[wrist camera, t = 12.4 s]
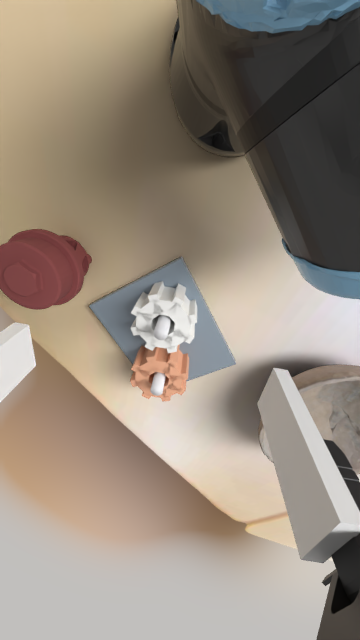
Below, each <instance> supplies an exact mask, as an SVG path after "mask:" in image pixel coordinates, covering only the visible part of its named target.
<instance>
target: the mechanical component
mask: <svg viewBox="0 0 360 640" xmlns="http://www.w3.org/2000/svg"><path fill="white" fill-rule="evenodd" d="M91 262H92V258H91V256H90V255H88V254H87V253H86V251H85V250H84V248H83V247H82V246H81V245H80V244H79V243H78V242H77V241H76V240H74V239H72V238H70V237H67V236H58V235H57V234H55V233H53V232H50V231H47V230H42V229H32V230H26V231H22V232H19V233H17V234H15V235H14V236H13V237H12V238H11V239H10V240H9V241H8V243H5V244H3V245H1V246H0V289H1V290H2V291H3V292H4V294H5V295H6V296H8V297H9V298H10V299H11V300H13V301H14V302H15V303H17V304H19V305H21V306H24V307H26V308H30V309H45V308H48V307H50V306H52V305H60V304H64V303H66V302H68V301H69V300H71V299H72V298H73V297H75V296H76V295H77V294H78V293H79V291H80V290H81V288H82V285H83V280H84V276H85V275H86V273H87V271H88V268H89V264H90V263H91Z"/></svg>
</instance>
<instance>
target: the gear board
mask: <svg viewBox="0 0 360 640" xmlns="http://www.w3.org/2000/svg"><path fill="white" fill-rule="evenodd" d="M161 281H163V283H164V286H165V287H172V288H176V287H177V285H178V283H179V284H180V285H182V286H184V287H186V291H185V295H186V296H187V298H188V299H189V300H196V304H197V323H195V333H194V339H193V340H192V341H191V343H190V344H189V343H187V342H185V341H184V342H182V343H181V344H180V346H179V350H180V351H181V352H182V354H187V353H188V356H189V371H188V380H186V381H189V380H191V379H194V378H197V377H200V376H203V375H206V374H209V373H212V372H214V371H217V370H220V369H223V368H226V367H229V366H232V365H235V364H236V363H235V359H234V357H233V355H232V353H231V351H230V349H229V347H228V345H227V343H226V341H225V339H224V337H223V335H222V333H221V331H220V329H219V328H218V326H217V324H216V322H215V320H214V318H213V316H212V314H211V312H210V310H209V308H208V306H207V304H206V302H205V300H204V298H203V296H202V294H201V292H200V290H199V289H198V287H197V285H196V283H195V281H194V279H193V277H192V275H191V273H190V271H189V269H188V267H187V265H186V263H185V261H184V259H183V257H182V256H181V257H179V258H177V259H175V260H174V261H172V262H170V263H168V264H166V265H164V266H162V267H160V268H158V269H156V270H154V271H152V272H150V273H148V274H147V275H145V276H143V277H141V278H139V279H137V280H135V281H133V282H131V283H129V284H127V285H125V286H123V287H121V288H120V289H118V290H116V291H114V292H112V293H110V294H108V295H106V296H104V297H102V298H100V299H98V300H96V301H95V302H93V303H92V304H90V305H89V307H90V308H91V309H92V311H93V312H94V313H95V315H96V316H97V317H98V319H99V320H100V321H101V323H102V324H103V325H104V327H105V328H106V329H107V331H108V332H109V333H110V335H111V336H112V337H113V339H114V340H115V341H116V343H117V344H118V345H119V347H120V348H121V349H122V351H123V352H124V353H125V355H126V356H127V357H128V359H129V360H130V361H131V363H132V364H133V363H134V361H135V358H136V356H137V353H138V351H139V349H140V347H141V346H144V347H145V344H146V341H145V340H144V339H143V338H142V337H141V336H140V335H135V336H134V335H133V333H132V331H131V326H132V324H133V322H134V320H135V318H136V316H135V315H133V314H131V312H132V310H133V308H134V306H135V305H136V303H137V301H138V299H139V298H140V296H141V294H142V293H143V292H144V293H146V294H149V293H150V291H151V289H152V287H153V285H154V283H157V282H161ZM170 324H171V318H170V317H169V316H165V315H159V318H158V321H157V324H156V327H155V330H154V337H155V338H156V339H158V340H164V339H166V338H167V336H168V332H169V328H170ZM165 377H166V375H165V374H164V373H159V372H155V374H154V378H153V382H152V386H151V390H150V391H151V393H152V394H153V395H156V396H159V395H161V394H162V393H163V388H164V383H165Z"/></svg>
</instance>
